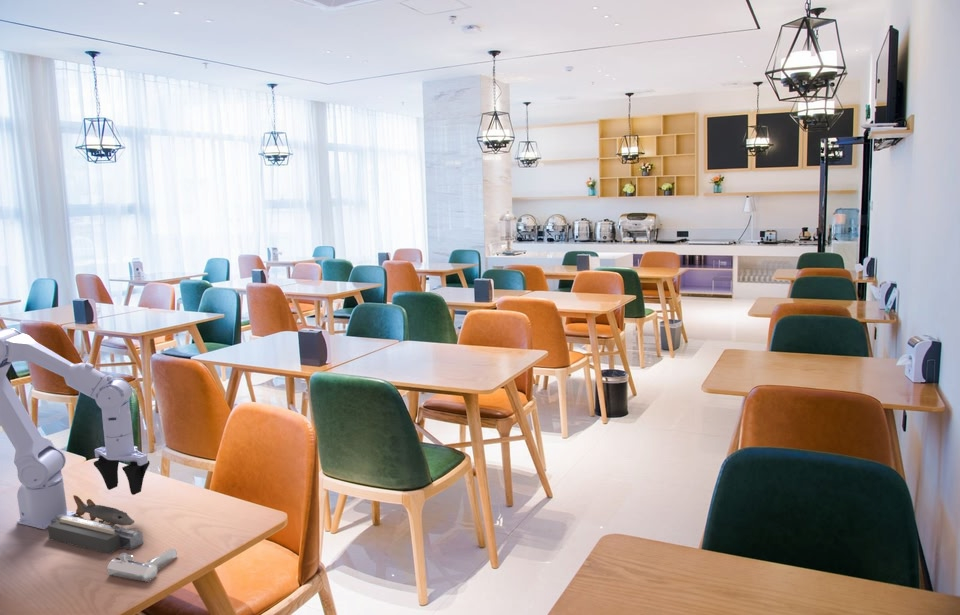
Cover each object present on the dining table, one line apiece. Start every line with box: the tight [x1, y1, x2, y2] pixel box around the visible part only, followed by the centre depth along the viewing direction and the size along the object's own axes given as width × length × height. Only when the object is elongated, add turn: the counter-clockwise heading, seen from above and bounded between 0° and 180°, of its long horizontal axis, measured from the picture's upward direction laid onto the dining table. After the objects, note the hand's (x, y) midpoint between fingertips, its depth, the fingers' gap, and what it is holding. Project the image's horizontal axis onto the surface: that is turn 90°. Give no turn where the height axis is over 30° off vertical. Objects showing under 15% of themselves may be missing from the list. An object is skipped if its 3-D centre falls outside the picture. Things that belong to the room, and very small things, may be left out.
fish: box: [73, 494, 135, 527], centre depth 155 cm, size 4×21×5 cm, turn 62°
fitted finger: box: [47, 518, 122, 555], centre depth 146 cm, size 18×3×4 cm, turn 66°
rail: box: [51, 514, 144, 551], centre depth 149 cm, size 24×3×3 cm, turn 66°
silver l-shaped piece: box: [106, 548, 178, 583], centre depth 136 cm, size 10×4×9 cm
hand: (124, 490), depth 160 cm, fingers open, 7 cm apart
